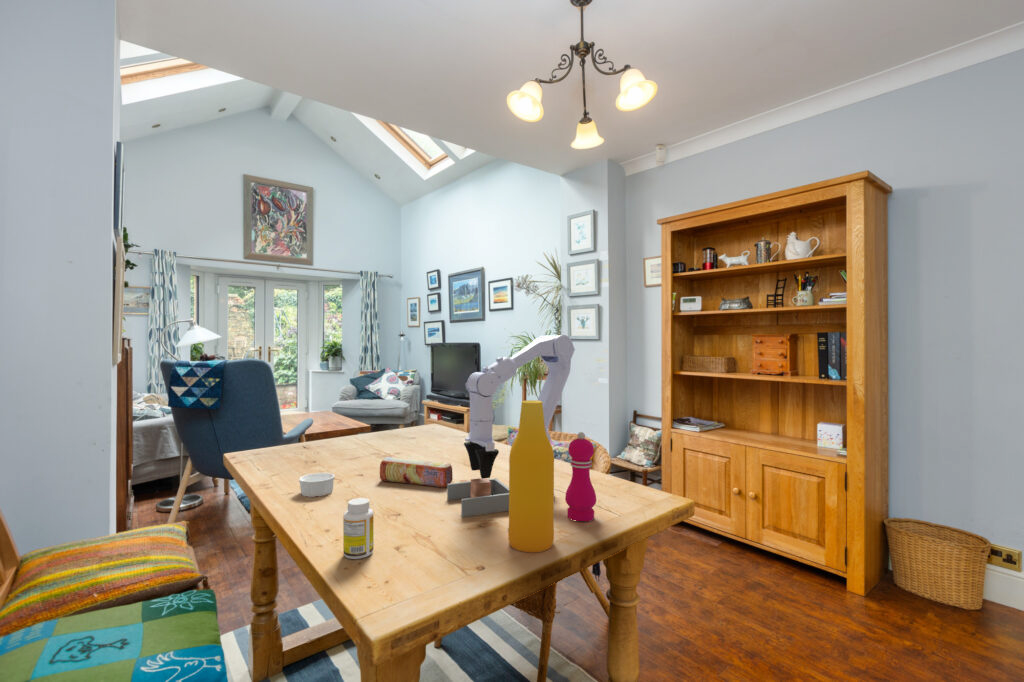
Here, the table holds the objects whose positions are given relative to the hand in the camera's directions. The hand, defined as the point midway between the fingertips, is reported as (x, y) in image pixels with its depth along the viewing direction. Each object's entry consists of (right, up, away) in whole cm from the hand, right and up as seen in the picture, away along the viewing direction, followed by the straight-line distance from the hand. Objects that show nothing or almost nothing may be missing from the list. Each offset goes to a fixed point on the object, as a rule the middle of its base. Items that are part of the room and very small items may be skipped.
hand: (480, 473), depth 121 cm
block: (0, -8, 0) cm, 8 cm away
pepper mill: (+24, -8, -8) cm, 27 cm away
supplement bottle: (-22, -8, -29) cm, 37 cm away
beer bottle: (+12, -8, -23) cm, 27 cm away
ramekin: (-45, -8, +8) cm, 46 cm away
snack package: (-20, -8, +19) cm, 28 cm away
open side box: (0, -8, 0) cm, 8 cm away
